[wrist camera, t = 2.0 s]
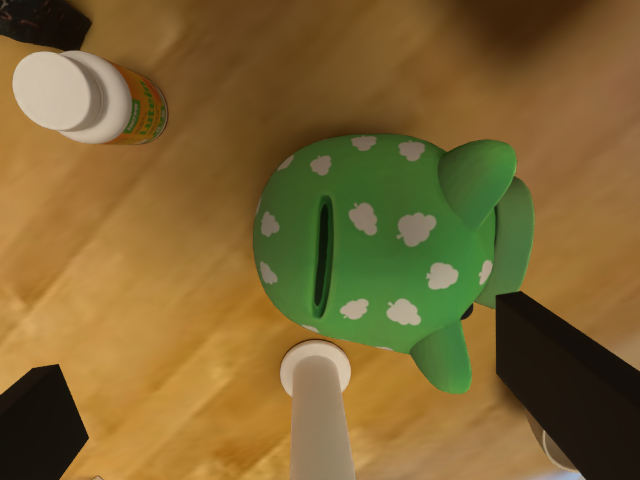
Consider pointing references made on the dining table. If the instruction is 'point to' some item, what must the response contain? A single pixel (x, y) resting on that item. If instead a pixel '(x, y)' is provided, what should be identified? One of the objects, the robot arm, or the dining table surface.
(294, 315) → the piggy bank
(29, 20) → the ceramic cat
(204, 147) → the dining table surface
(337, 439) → the candle
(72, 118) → the supplement bottle
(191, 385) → the dining table surface
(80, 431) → the robot arm
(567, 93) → the dining table surface
